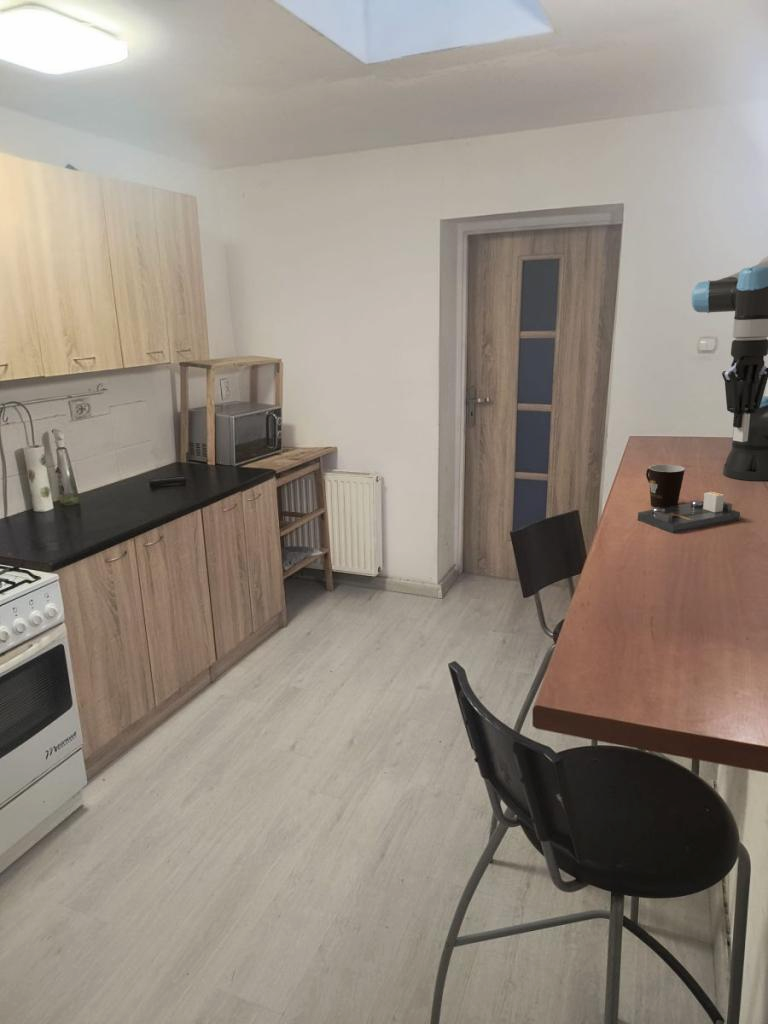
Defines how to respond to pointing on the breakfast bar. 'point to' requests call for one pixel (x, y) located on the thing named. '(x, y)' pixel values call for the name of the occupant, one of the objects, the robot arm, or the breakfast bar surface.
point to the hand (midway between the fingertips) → (740, 440)
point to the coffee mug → (665, 484)
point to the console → (687, 516)
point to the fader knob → (713, 501)
